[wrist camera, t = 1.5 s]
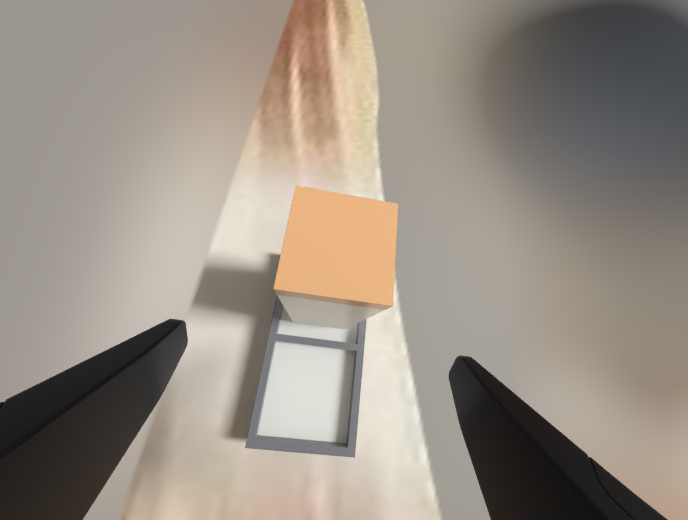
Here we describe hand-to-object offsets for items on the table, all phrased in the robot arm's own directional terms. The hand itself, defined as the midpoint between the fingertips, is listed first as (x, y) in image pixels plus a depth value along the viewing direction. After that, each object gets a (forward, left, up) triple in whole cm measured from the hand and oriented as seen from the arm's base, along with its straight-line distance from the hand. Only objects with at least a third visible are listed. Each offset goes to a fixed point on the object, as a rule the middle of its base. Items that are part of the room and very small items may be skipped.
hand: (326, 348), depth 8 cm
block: (+3, +2, -11) cm, 12 cm away
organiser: (0, 0, -12) cm, 12 cm away
